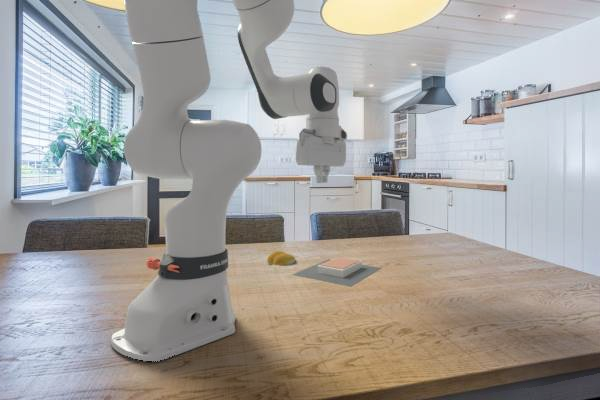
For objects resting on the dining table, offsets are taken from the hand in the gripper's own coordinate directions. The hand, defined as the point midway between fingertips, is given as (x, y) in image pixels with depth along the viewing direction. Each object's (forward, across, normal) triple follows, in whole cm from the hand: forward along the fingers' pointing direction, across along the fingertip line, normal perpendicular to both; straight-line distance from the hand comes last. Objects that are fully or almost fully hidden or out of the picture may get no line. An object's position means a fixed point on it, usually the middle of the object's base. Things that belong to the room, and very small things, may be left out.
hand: (321, 183), depth 98 cm
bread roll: (+26, +5, +18) cm, 32 cm away
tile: (+24, 0, -2) cm, 24 cm away
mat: (+26, +5, -2) cm, 27 cm away
